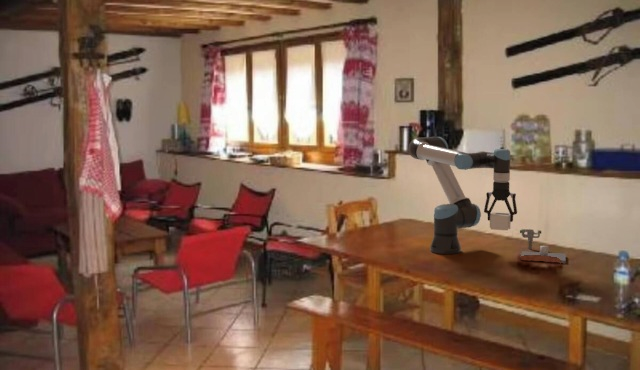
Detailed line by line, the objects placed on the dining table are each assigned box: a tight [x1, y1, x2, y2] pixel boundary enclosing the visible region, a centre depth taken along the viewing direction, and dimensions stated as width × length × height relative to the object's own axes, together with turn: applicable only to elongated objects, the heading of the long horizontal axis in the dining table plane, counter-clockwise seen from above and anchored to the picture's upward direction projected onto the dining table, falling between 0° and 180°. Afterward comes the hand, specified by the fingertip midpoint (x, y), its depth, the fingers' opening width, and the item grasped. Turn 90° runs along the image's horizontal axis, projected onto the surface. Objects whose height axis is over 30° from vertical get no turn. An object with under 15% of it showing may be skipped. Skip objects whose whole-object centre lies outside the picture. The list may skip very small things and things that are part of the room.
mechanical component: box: [519, 228, 542, 250], centre depth 326 cm, size 3×10×10 cm, turn 78°
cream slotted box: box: [490, 211, 510, 231], centre depth 311 cm, size 8×8×7 cm
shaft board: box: [520, 245, 567, 265], centre depth 306 cm, size 20×14×6 cm
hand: (500, 227), depth 311 cm, fingers closed on cream slotted box, 8 cm apart
